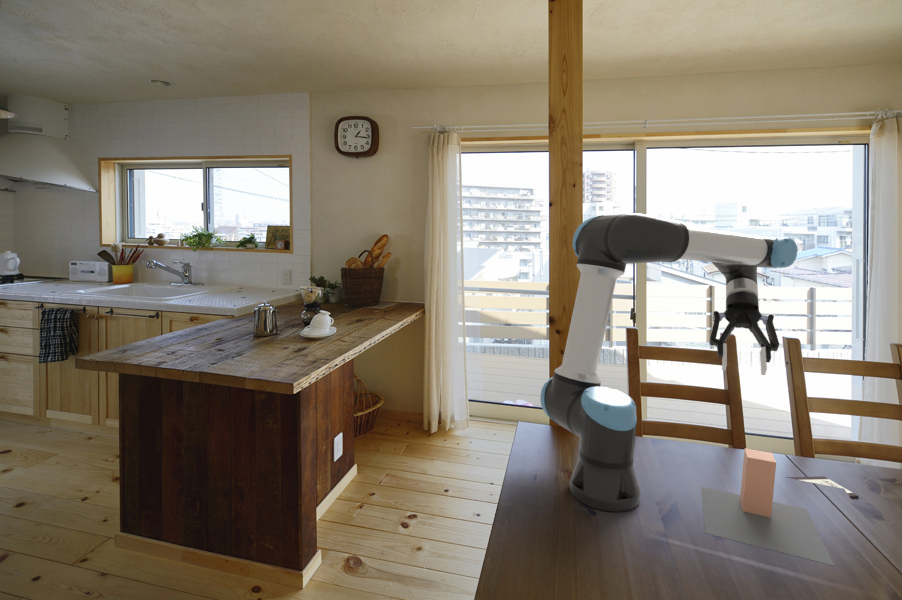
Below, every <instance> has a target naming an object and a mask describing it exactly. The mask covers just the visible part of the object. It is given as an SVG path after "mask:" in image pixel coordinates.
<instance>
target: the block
mask: <svg viewBox="0 0 902 600" xmlns="http://www.w3.org/2000/svg"><path fill="white" fill-rule="evenodd" d="M776 468H777V461H776V459H775V456H774V454H773V453H772V452H768V451H764V450H763V451H762V450H757V449H751V448H747V447H745V448H744V451H743V462H742V471H741V472H742V475H741V484H740V493H739V495H740V502H741V506H742V510H743V511H744V512H749V513H753V514H757V515H762V516H766V517H771V512H772V502H774V491H775V481H776V480H775V478H776V470H777V469H776Z"/></svg>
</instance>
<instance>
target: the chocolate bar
mask: <svg viewBox="0 0 902 600" xmlns="http://www.w3.org/2000/svg"><path fill="white" fill-rule="evenodd" d="M784 478H786V479H792V480H797V481H803V482H807V483H812V484H818V485H821V486H828V487H834V488H838V489H843V490H844V491H845V492H846V493H847V495H848V496H849V498H850V499H859V495H857V494H856V493H855V492H852V491H850V490H849V489H847V488H845V487H844V486H841V485H840V484H838V483H837V482H835V481H833V480H832V479H829V477H826V476H789V477H788V476H787V477H784Z"/></svg>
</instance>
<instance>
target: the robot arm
mask: <svg viewBox="0 0 902 600" xmlns="http://www.w3.org/2000/svg"><path fill="white" fill-rule="evenodd" d="M572 249H573V251H574V254H575V256H576V257H577V262H576V268H578V270H579V271H580V277H579V281H578V286H577V287H578V288H577V291H576V296H575V301H574V304H573V310H572V315H571V320H570V324H569V330H568V335H567V339H566V343H565V348H564V353H563V358H562V363H561V365H560V366H559V367H557V368H555V369H554V372H553V376H552V377H550V378H549V379H548V381H546V382H545V383H544V384H543V386H542V389H541V391H540V397H539V399H540V405H541V406H540V407H541V408H542V410H543V413H544V414H545V415H546V416H547V417H548V418H549V419H551V421H552V422H553V423H555V424H557V425H558V426H561V427H562V428H563V429H566V430H567V431H569V432H571V433H572V434H573V435H575V436H577V437H578V438H579V455H578V459H577V461H576V464H575V466H574V469H573V472H572V474H571V475H570V480H569V481H570V482H569V490H570V493H571V494H572V497H574V498H575V499H576V500H577V501H579V502H581V503H582V504H584V505H586V506H588V507H591V508H593V509H596V510H600V511H604V512H605V511H606V512H613V513H614V512H617V513H618V512H627V511H631V510H633V509H634V508H636V507H637V506H638V505H639V504H640V499H641V498H640V497H641V490H640V486H639V481H638V477H637V475H636V472H635V468H634V458H635V447H636V446H635V445H636V434H637V433H636V432H637V420H638V417H637V406H636V405H637V404H636V403H635V401H634V399H633V398H632V397H631V396H630V395H628V394H626V393H625V392H623V391H621V390H618V389H615V388H610V387H606V386H601V384H602V380H601V378H600V377H599V375H598V374H597V373H598V372H597V371H598V367H599V363H600V359H601V352H602V348H603V344H604V339H605V335H606V330H607V325H608V320H609V315H610V310H611V307H612V306H611V305H612V301H613V298H614V297H613V296H614V292H615V287H616V284H617V283H616V282H617V280H618V278H620V277H621V276H624V274H625V271H626V266H627V264H631V265H632V264H643V263H660V262H661V263H675V262H677V261H679V260H689V261H696V262H699V261H700V262H707V263H708V262H710V263H711V264H712V265H714V267H715V268H717V270H719V272H720V273H721V274H722V275H723V276H724V278H725V298H726V299H725V310H724V312H719V311H718V310H714V311H713V315H712V319H713V320H712V321H713V325H712V330H711V334H710V338H709V345H710V346H715V347H716V349H717V350H716V353H717V354H716V356H717V357H718V358H721V363H722V364H721V371H726V370H727V366H728V347H727V346H728V344H727V343H726V342H727V340H728V339H729V337H730V336H731V334H732V332H733V331H734V330H735V328H736V329H741V328H743V329H748V330H749V331H750V333H751V334H752V335H753V337H754V338H755V340H756V341H757V343H758V345H759V346H760V348H761V349H760V351H759V356H760V357H759V359H760V362H759V363H760V375H761V376H762V375H763V376H765V375H766V372H767V368H768V366H767V363H770V362H771V360H772V353H771V352H777V351H778V349H779V347H780V342H779V339H778V335H777V332H776V331H777V330H776V329H775V325H774V319H775V317H774V315H773V314H768V315H764V314H762V313H761V312H760V308H759V306H760V304H759V287H758V268H771V269H778V268H779V269H781V268H782V269H783V268H789V267H790V266H792V265H793V264H794V262H795V261H796V260H797V257H798V246H797V243H796V242H795V240H794V239H793V238H791V237H786V236H785V237H781V236H776V237H775V236H773V237H771V236H763V235H762V236H761V235H755V234H754V235H753V234H746V233H739V232H733V231H732V232H731V231H724V230H716V229H709V228H701V227H694V226H687V224H686V223H685V222H683V221H681V220H676V219H670V218H665V217H660V216H656V215H655V216H654V215H650V214H644V213H638V212H637V213H636V212H634V213H633V212H630V213H629V212H628V213H621V214H607V215H606V214H605V215H602V214H601V215H596V216H593V217H590V218H587V219H586V220H584V221H583V222H582V223H581V224H579V226H578V227H577V228H576V230H575V231H574V234H573V237H572ZM724 318H725V320H726V321H728V324H727V325H726V327H725V328H724V330H723V332H722V333H721V335H720V336H719V338H717V335H718V331H719V327H720V326H719V325H720V322H721V321H722V320H723V319H724ZM759 321H762V323H763V325H764V326H765V331H766V334H767V336H766V335H765V334H764V332H763V331H762V329H761V328H760V326H759ZM767 337H768V339H767Z"/></svg>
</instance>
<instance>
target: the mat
mask: <svg viewBox="0 0 902 600" xmlns="http://www.w3.org/2000/svg"><path fill="white" fill-rule="evenodd" d="M700 489H701V499H702V500H701V501H702V511H703V521H704V522H703V523H704V526H703V527H704V533H705V534H706V535H711V536H715V537H719V538H723V539H725V540H726V539H727V540H731V541H734V542H739V543H743V544H747V545H750V546H754V547H758V548H763V549H766V550H768V551H769V550H771V551H774V552H777V553H782V554H785V555H788V556H789V555H790V556H793V557H797V558H801V559H806V560H810V561H813V562H817V563H821V564H825V565H830V566H833V567H835V564H834V562H833V560H832V557H831V556H830V553H829V552H828V550H827V547H826V546H825V544H824V541H823V539H822V537H821V536H820V533H819V531H818V529H817V527H816V524H815V523H814V521H813V519H812V517H811V515H810V512H809V511H808V508H803V507H798V506H795V505H789V504H784V503H780V502H775V501H773V502H772V512H771V517H766V516H762V515H757V514H753V513H749V512H744V511H743V510H742V506H741V502H740V494H738V493H734V492H728V491H725V490H718V489H714V488H709V487H705V486H701V487H700Z"/></svg>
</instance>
